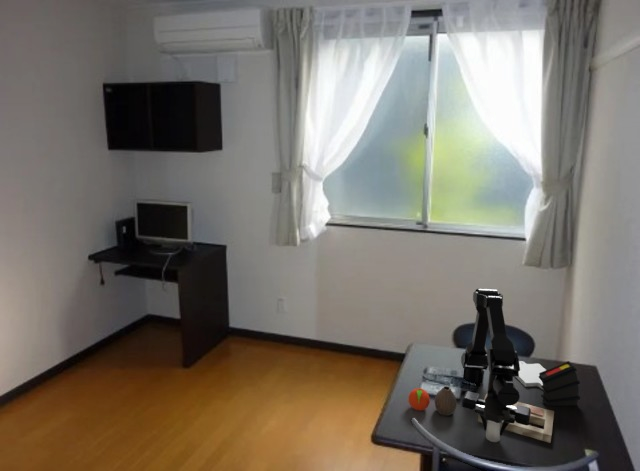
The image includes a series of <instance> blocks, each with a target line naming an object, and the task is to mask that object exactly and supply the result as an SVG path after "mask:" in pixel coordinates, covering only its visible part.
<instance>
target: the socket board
mask: <svg viewBox="0 0 640 471" xmlns="http://www.w3.org/2000/svg"><path fill="white" fill-rule="evenodd" d="M486 397H487V393H485V396H484V399H483V400H485V399H486ZM517 404H518V405H522V406H525V407H529V408H530V409H531V415H530V421H529V425H523V424H519V423H517V422H516V421H515V423H510V424H508V425H507V427H506V428H505V430H504V431H508V432H512V433H515V434H518V435H520V436H521V435H522V436H525V437H529V438H532V439H535V440H538V441H543V442H545V443H549V444H551V441H552V434H553V425H554V424H553V423H554V417H555V416H554V415H555V411H554V410H550V409H547V408H543V407H538V406H534V405H531V404H527V403H525V402H524V403H523V402H520V401H518V402H517V403H516V404H514V405H511V406H512V407H517ZM477 414H478V413H477ZM477 417H478V418H477V422H478V423H482V419H481V417H480V415H479V414H478V416H477ZM482 424H483V423H482ZM502 424H503V421H502ZM502 424H501V427H502ZM531 424H533V426H532V425H531ZM534 425H537V426H541V427H543V428H540V427H537V426H534Z"/></svg>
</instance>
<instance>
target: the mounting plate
mask: <svg viewBox="0 0 640 471" xmlns="http://www.w3.org/2000/svg"><path fill="white" fill-rule="evenodd" d="M519 365H520V371H519V376H514V377H515V378H516V379H517V380H518V381H519V382H520V383H521V384H522V385H523V386H524V387H525V388H528V387H530V388H531V387H538V388H540V390H543V388H542V387H541V386H542V385H543V383H542V381H541V379H540V378H539V376H540V375H539V373H541V372H543V371H546V370H547V369H546V368H544V367H543V366H542V365H541V364H540V363H526V362H525V361H522V360H519ZM506 367H507V368H508V369H514V367H513V366H512V367H509V366H506Z"/></svg>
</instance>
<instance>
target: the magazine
mask: <svg viewBox="0 0 640 471" xmlns="http://www.w3.org/2000/svg"><path fill="white" fill-rule="evenodd" d="M576 372H577V368H576V366H574V364H573V363H572V362H570V361H569V360H567V361H565V362H562V363H561V364H557V365H556V366H554V367H550V368H549V369H546V371H543V372H541V373H539V375H540V376H539V378H540V379H541V381H542V383H543V385H542V386H541V387H542V388H543V389H542V390H543V391H542V392H543V393H542V394H541V395H540V396H541V398H542V402H543V403H544V404H545V406H548V407H549V406H553V407H554V406H558V407H559V406H578V402H579V400H580V399H581V396H580V395H579V391H580V390H579V385H580V384H581V383H580V380H579V379H578V375H577V373H576Z"/></svg>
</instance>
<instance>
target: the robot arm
mask: <svg viewBox="0 0 640 471" xmlns="http://www.w3.org/2000/svg"><path fill="white" fill-rule="evenodd" d="M503 300H504V295H503V294H502V293H500V292H498V289H497V288H496V289H494V288H476V289H475V290H474V291H473V294H472V301H473V303H474V306H475V310H476V318H475V322H474V328H473V333H472V340H471V342H470V343H468V344H467V345H466V346H465V350H464V352H462V354H461V357H460V361H461V362H460V363H461V367H462V369H463V375H462V379H465V380H466V381H468V382H471V383H475V384H476V386H477V387H476V386H475V387H476V388H481V385H482V384H483V383H484V381H485V380H484V379H485V371H487V370H488V371H489V376H488V384H487V397H486V399H485V400H484V399H482V398H480V394H479V393H477V392H472V391H469V390H467V391H465V394H464V396H463V398H462V401H461V407H462V408H464V409H467V410H471V411H472V410H474V413H475V414H479V415H480V417H481V419H482V426H483V429H484V431H485V432H486V428H487V420H490V421H494V422H496V423H500V422H501V420H503V424H502V427H501V431H500V436H502V435H503V434H504V432H505V431H506V430H505V428H506V427H507V425H508V424H510V423H515V421H516V422H517V423H519V424H523V425H530V422H529V421H530V415H531V409H530V408H529V407H525V406H522V405H518V404H517V407H512V406H511V405H514V404H516V403H517V402H519V400H520V397H521V395H520V392H519V390H518V389H517V386H516V385H515V383H514V379H513V378H514V377H515V376H519V371H520V365H519V361H520V359H519V355H518V352H517V350H515V345H514V342H513V341H512V340H511V339H510V338H509V337H508V334H507V328H506V322H505V317H504V312H503V306H504V302H503ZM488 332H490V333H489V334H490V343H489V346H488V348H487V346H486V344H487V339H488ZM507 366H509V367H512V366H513V367H514V369H508V368H507Z"/></svg>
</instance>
